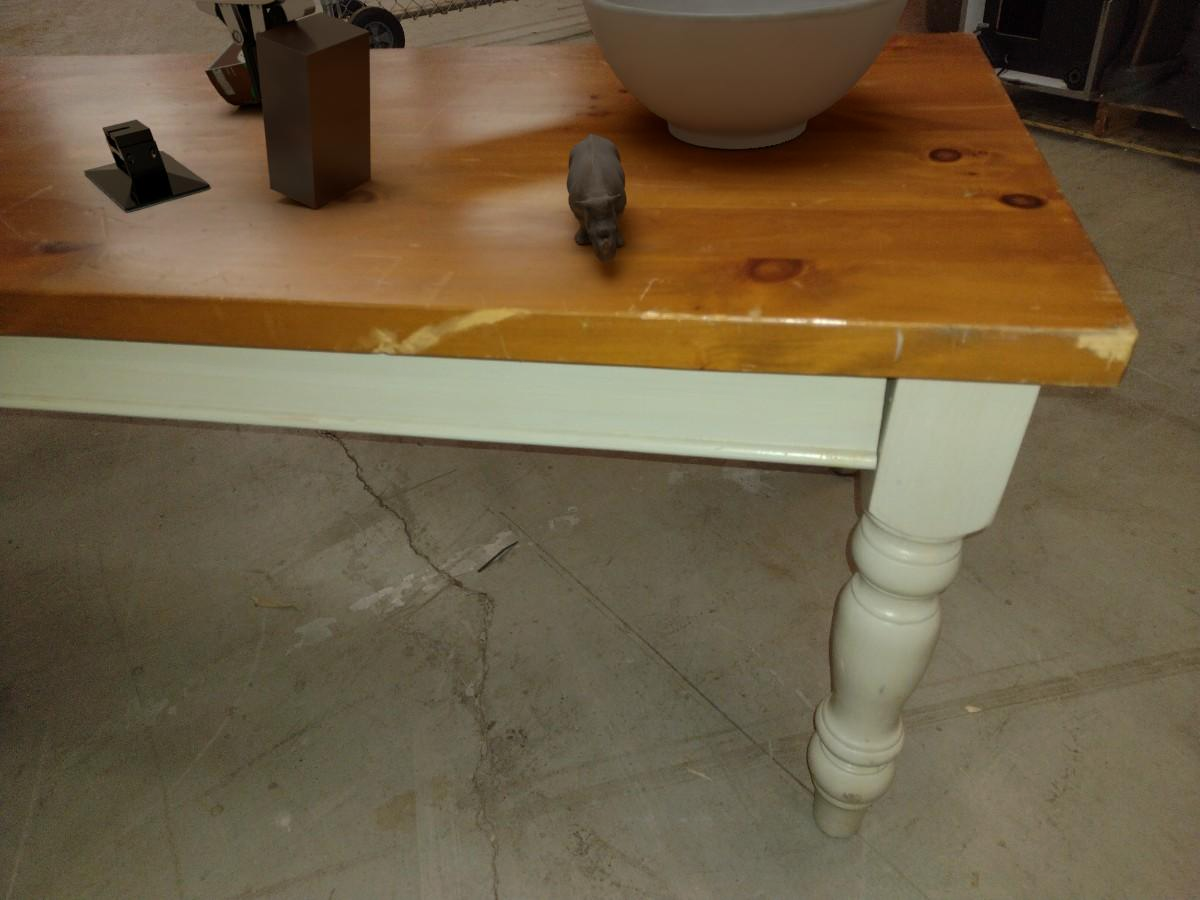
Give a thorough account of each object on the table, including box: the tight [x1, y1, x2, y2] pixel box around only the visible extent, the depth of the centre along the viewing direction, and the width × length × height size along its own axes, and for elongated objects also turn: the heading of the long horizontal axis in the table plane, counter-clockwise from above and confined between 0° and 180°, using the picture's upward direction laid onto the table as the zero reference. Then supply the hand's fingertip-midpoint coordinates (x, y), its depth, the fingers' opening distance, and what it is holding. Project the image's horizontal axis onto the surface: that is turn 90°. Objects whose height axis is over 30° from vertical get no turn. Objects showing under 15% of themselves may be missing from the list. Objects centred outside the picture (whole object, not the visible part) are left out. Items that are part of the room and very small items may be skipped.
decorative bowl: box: [581, 0, 909, 150], centre depth 75 cm, size 27×27×12 cm
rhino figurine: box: [566, 133, 628, 264], centre depth 59 cm, size 4×14×6 cm, turn 2°
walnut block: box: [255, 11, 372, 210], centre depth 67 cm, size 4×7×12 cm, turn 153°
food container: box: [204, 40, 262, 107], centre depth 91 cm, size 12×6×10 cm
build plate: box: [83, 119, 211, 213], centre depth 74 cm, size 12×7×5 cm, turn 40°
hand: (278, 96), depth 68 cm, fingers closed
